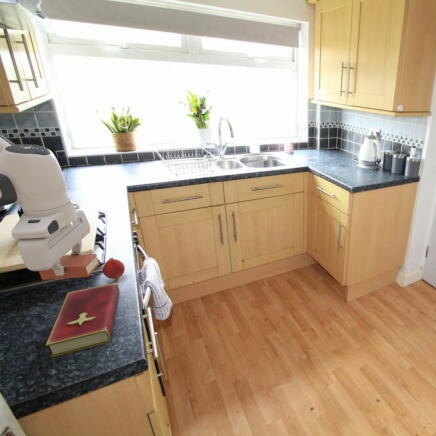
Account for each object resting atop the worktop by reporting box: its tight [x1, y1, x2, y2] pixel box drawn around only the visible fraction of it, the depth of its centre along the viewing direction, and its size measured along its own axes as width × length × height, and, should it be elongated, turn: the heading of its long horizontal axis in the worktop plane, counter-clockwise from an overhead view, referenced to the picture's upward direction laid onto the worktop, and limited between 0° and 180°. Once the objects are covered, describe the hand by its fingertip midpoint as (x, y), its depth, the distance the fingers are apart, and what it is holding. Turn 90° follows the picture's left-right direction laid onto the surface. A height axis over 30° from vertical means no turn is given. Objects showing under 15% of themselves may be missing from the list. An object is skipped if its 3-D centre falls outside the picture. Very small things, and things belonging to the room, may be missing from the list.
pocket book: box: [38, 253, 100, 281], centre depth 80 cm, size 10×6×3 cm, turn 100°
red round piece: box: [102, 256, 126, 280], centre depth 101 cm, size 6×6×8 cm
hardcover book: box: [45, 282, 120, 359], centre depth 85 cm, size 12×21×4 cm, turn 25°
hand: (70, 265), depth 80 cm, fingers closed on pocket book, 6 cm apart
